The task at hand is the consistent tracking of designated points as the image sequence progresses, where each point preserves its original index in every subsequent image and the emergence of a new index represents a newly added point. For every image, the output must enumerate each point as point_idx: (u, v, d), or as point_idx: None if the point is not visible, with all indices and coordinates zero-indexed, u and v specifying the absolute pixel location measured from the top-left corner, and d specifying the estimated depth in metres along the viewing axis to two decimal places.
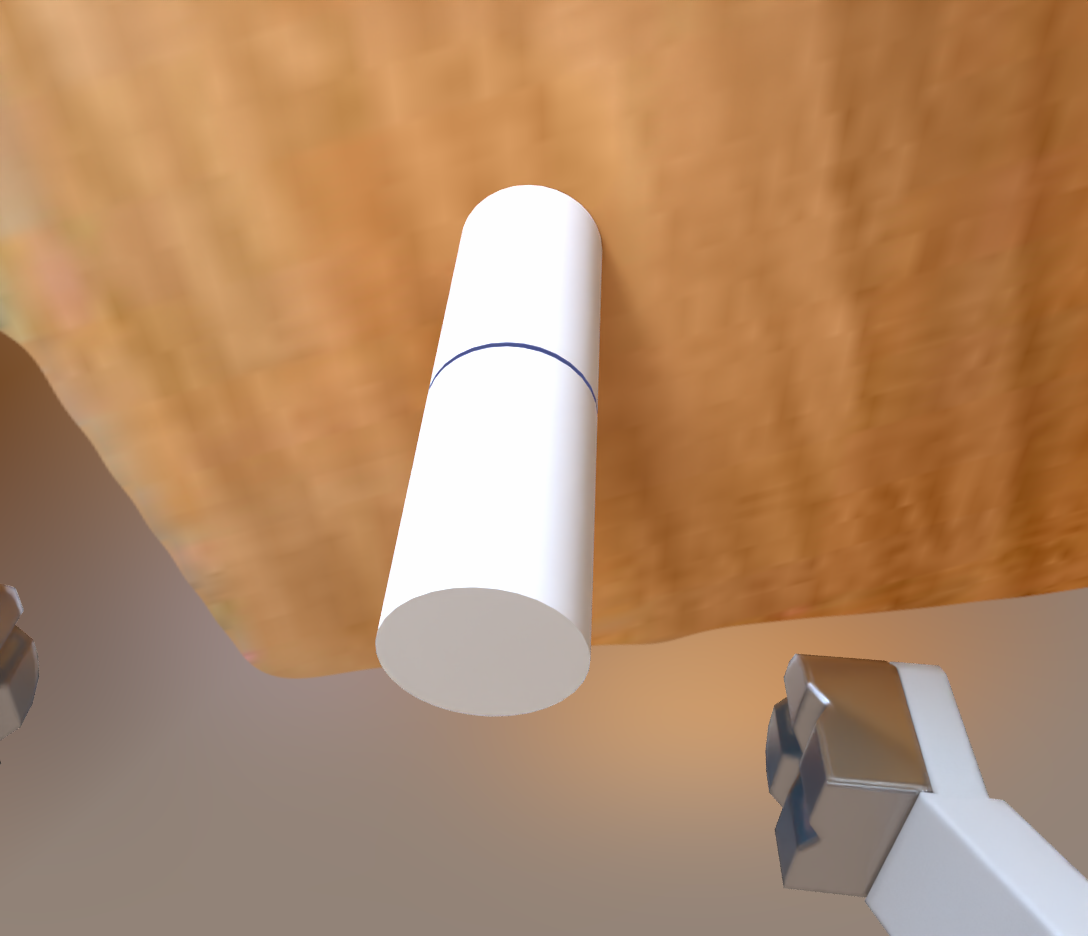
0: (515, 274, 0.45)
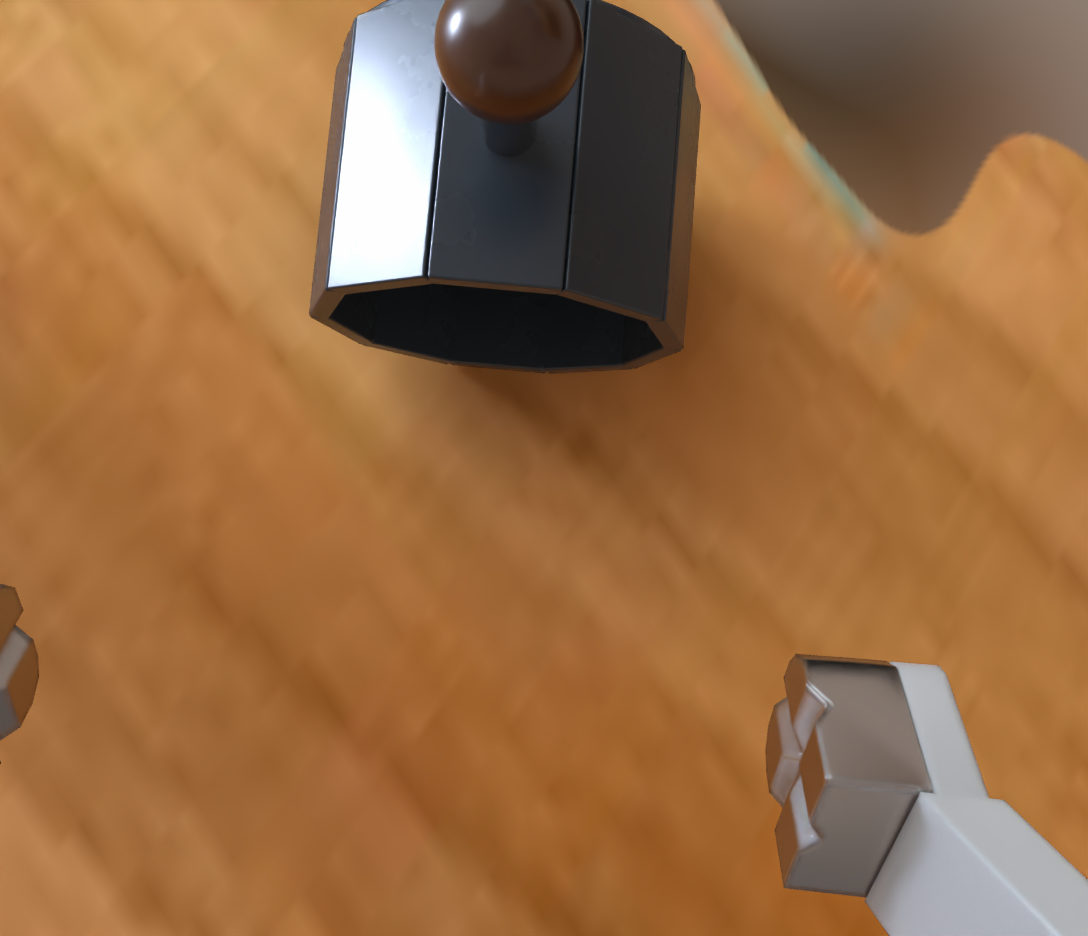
0: None
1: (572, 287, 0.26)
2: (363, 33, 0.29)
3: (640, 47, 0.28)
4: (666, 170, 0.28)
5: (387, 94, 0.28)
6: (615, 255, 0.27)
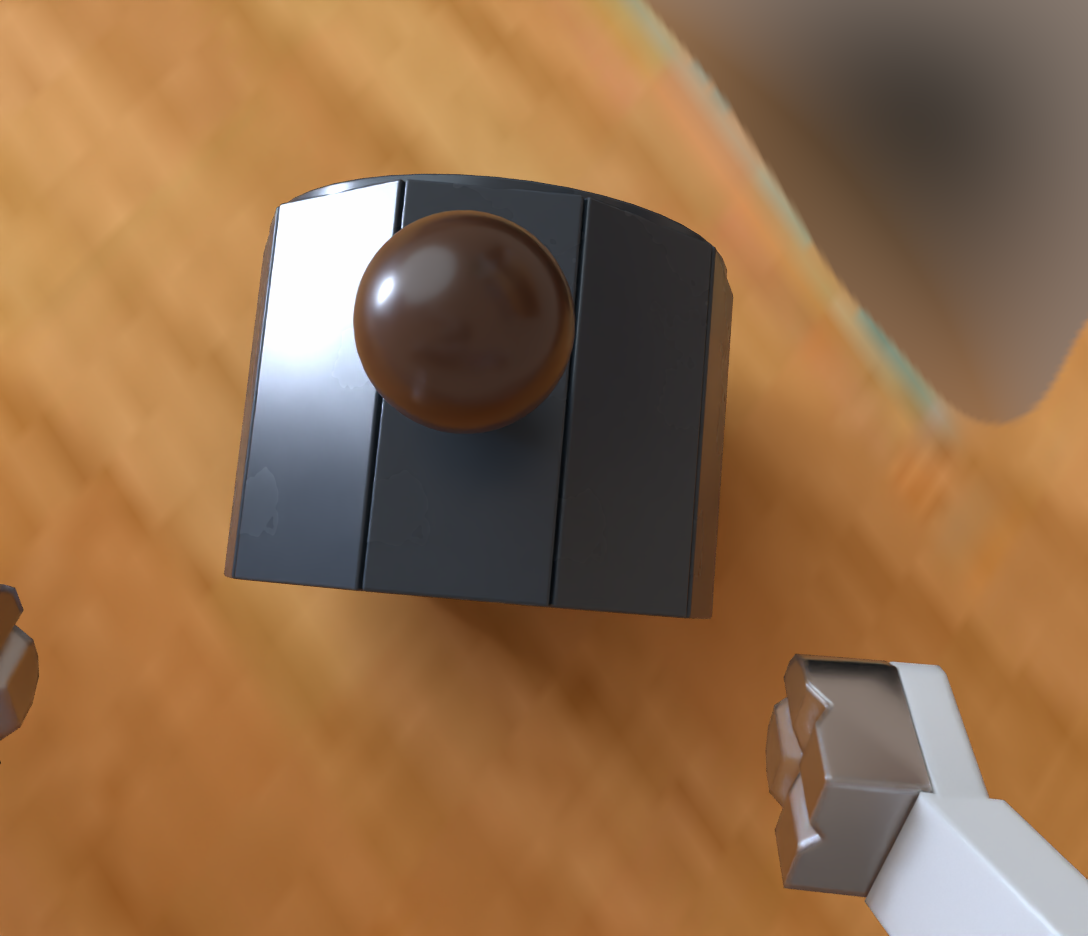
0: None
1: (563, 601, 0.19)
2: (286, 230, 0.21)
3: (656, 253, 0.21)
4: (691, 414, 0.21)
5: (315, 320, 0.20)
6: (623, 544, 0.20)
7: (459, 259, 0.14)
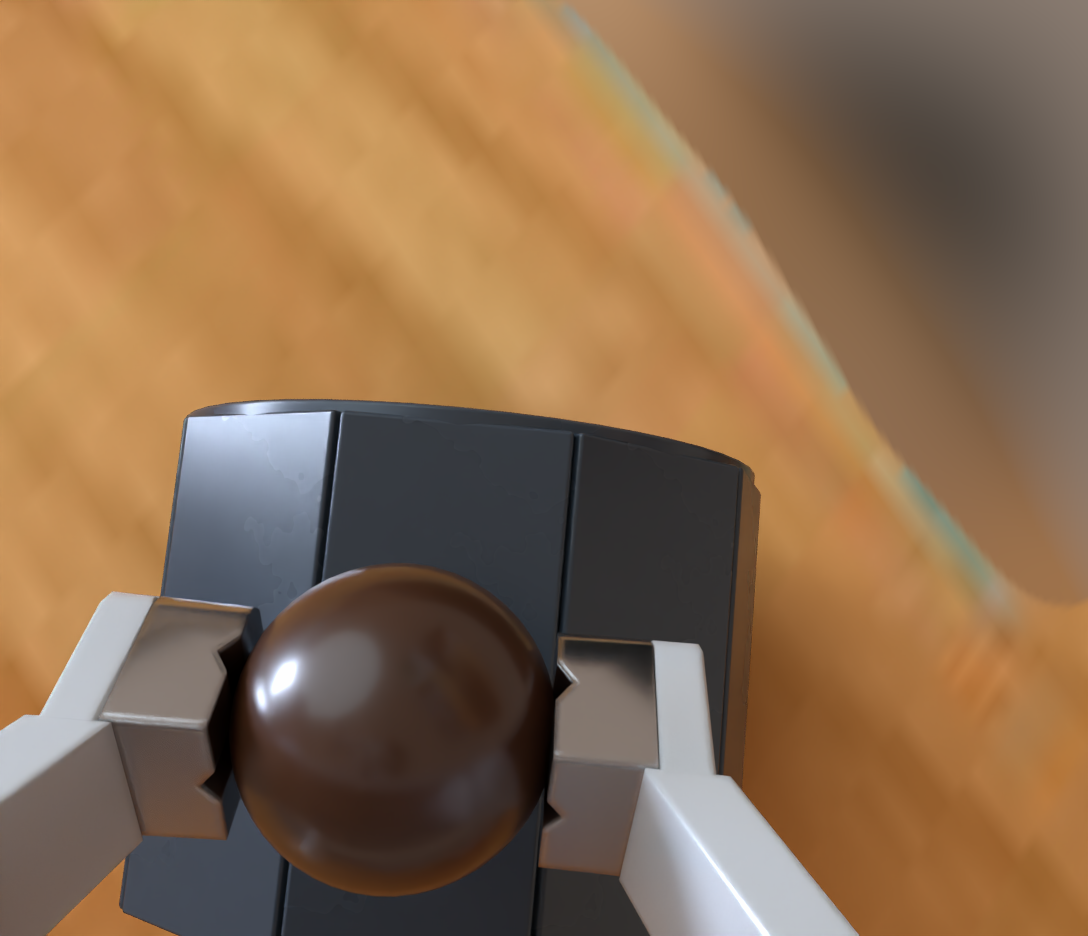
0: None
1: None
2: (194, 453, 0.17)
3: (668, 492, 0.16)
4: (712, 693, 0.16)
5: (226, 582, 0.16)
6: None
7: (376, 690, 0.09)
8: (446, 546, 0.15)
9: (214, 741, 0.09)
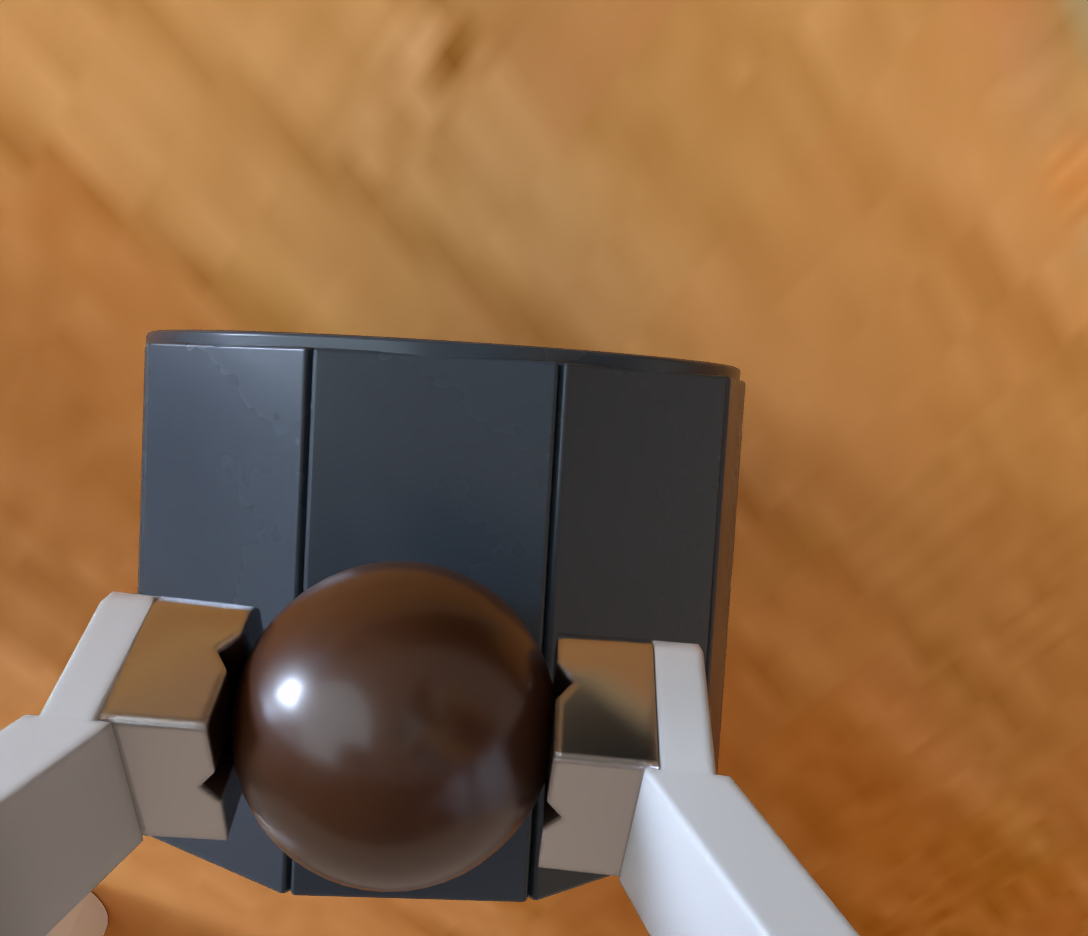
0: None
1: (544, 890, 0.15)
2: (160, 383, 0.16)
3: (655, 413, 0.16)
4: (699, 605, 0.17)
5: (207, 521, 0.15)
6: None
7: (380, 723, 0.09)
8: (431, 486, 0.14)
9: (213, 741, 0.09)
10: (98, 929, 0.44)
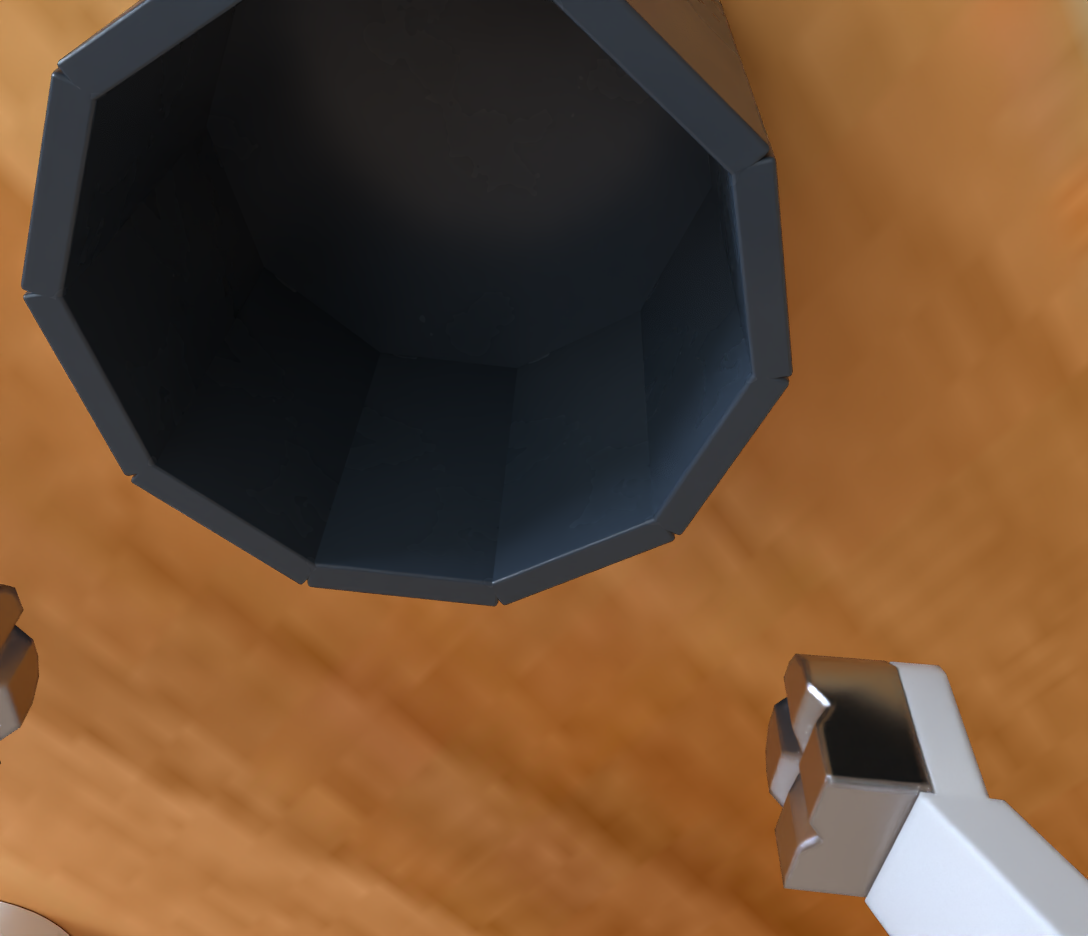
0: None
1: None
2: None
3: None
4: (726, 40, 0.16)
5: None
6: (665, 17, 0.14)
7: None
8: None
9: None
10: None
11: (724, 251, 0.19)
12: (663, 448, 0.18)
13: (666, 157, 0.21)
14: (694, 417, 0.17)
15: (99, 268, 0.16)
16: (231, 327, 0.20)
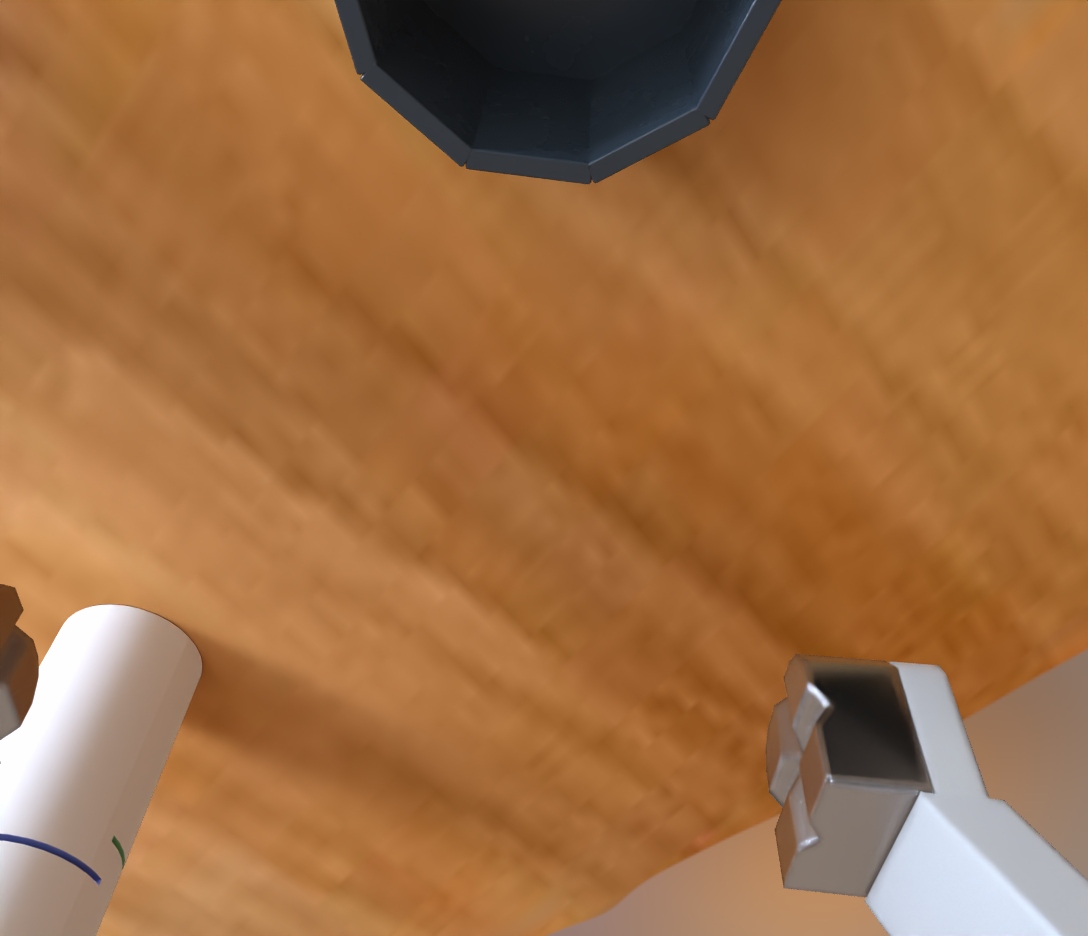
0: (3, 741, 0.45)
1: None
2: None
3: None
4: None
5: None
6: None
7: None
8: None
9: None
10: (196, 672, 0.52)
11: None
12: (702, 72, 0.27)
13: None
14: (723, 39, 0.27)
15: None
16: (405, 18, 0.30)
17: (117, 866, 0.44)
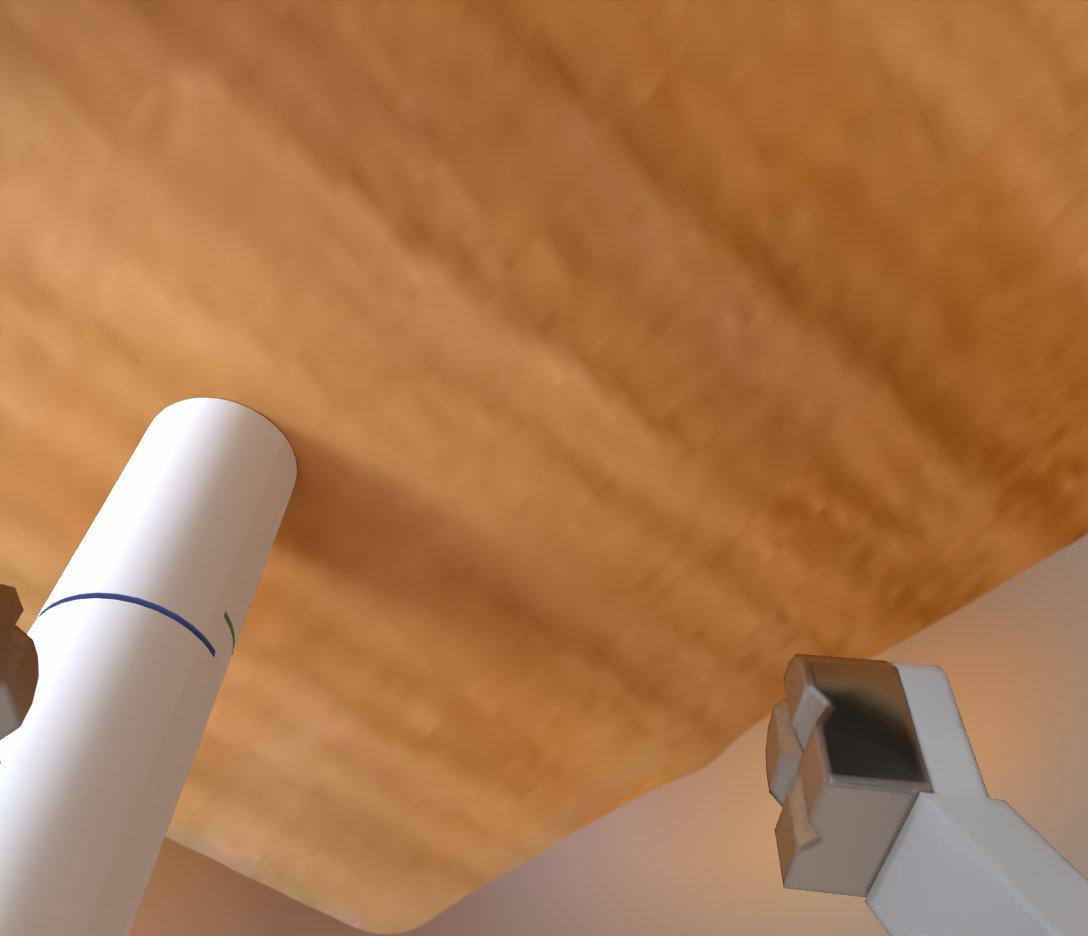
0: (101, 518, 0.42)
1: None
2: None
3: None
4: None
5: None
6: None
7: None
8: None
9: None
10: (292, 475, 0.49)
11: None
12: None
13: None
14: None
15: None
16: None
17: (229, 645, 0.40)
